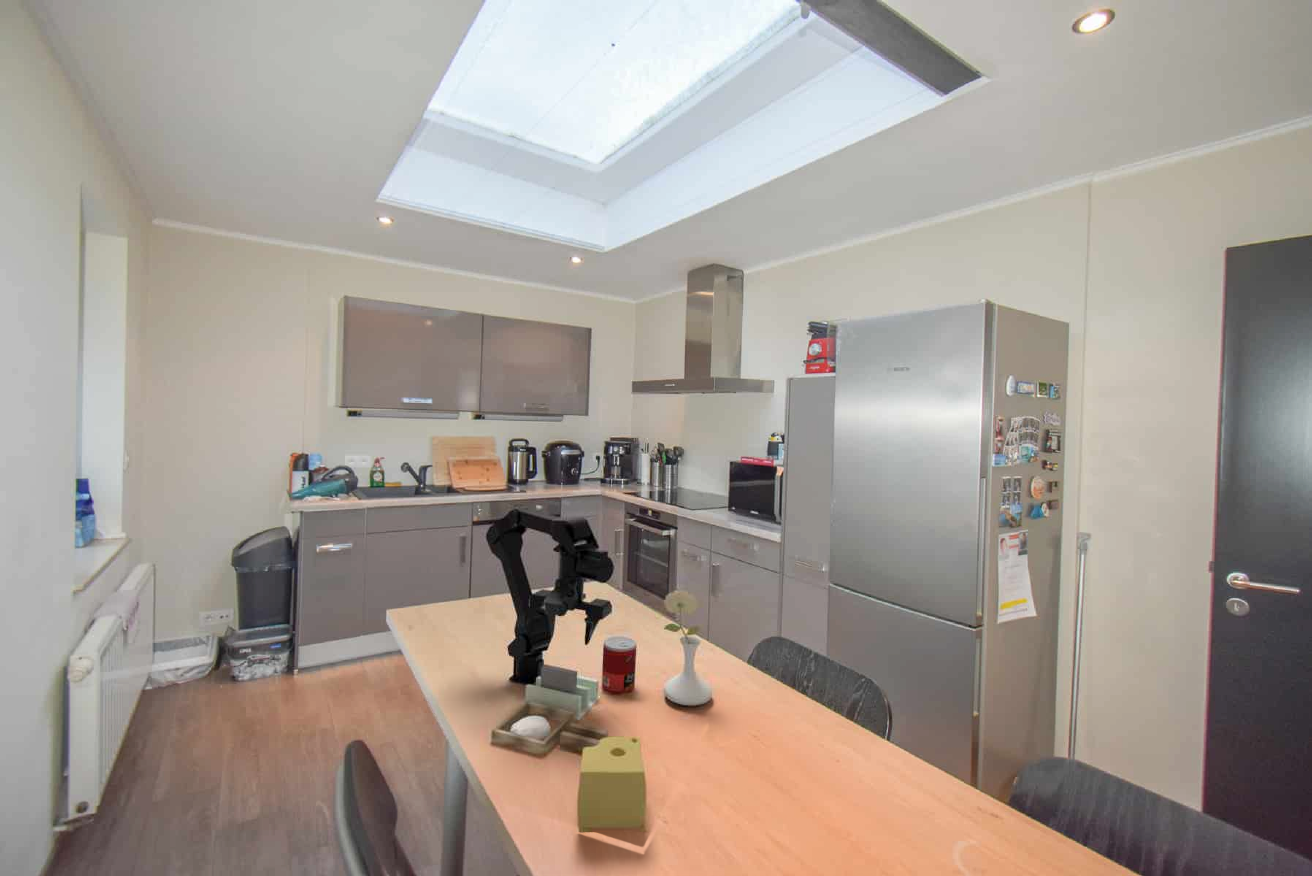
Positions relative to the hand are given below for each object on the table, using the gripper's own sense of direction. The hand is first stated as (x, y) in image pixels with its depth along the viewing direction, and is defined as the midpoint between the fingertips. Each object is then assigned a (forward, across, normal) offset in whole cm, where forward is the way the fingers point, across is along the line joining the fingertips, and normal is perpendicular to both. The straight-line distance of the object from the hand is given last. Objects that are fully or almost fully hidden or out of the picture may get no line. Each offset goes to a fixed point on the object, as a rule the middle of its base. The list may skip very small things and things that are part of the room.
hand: (568, 640), depth 131 cm
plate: (+12, +1, -6) cm, 13 cm away
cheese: (+13, +25, -31) cm, 42 cm away
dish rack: (+13, +1, -4) cm, 14 cm away
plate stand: (+13, +13, -17) cm, 25 cm away
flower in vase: (+13, +25, +11) cm, 30 cm away
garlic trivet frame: (+13, +2, -17) cm, 21 cm away
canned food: (+13, +9, +9) cm, 18 cm away
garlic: (+14, +2, -18) cm, 22 cm away
